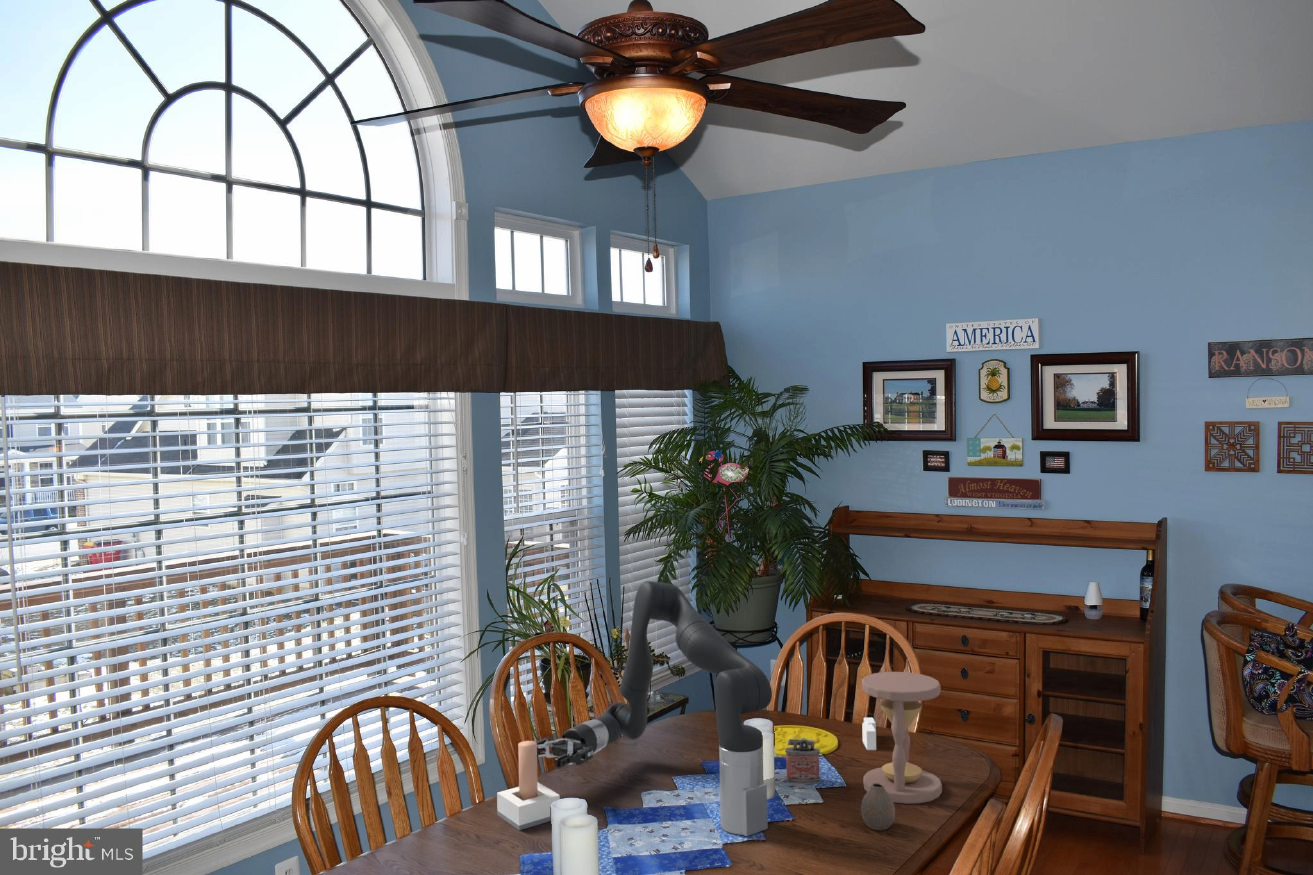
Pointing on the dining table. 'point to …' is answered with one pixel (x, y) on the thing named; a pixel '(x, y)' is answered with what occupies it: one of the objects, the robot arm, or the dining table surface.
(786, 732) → the decorative medallion
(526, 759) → the peg
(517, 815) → the bore block
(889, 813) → the vase
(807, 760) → the lighter
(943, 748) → the dining table surface
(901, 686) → the hourglass
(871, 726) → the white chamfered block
